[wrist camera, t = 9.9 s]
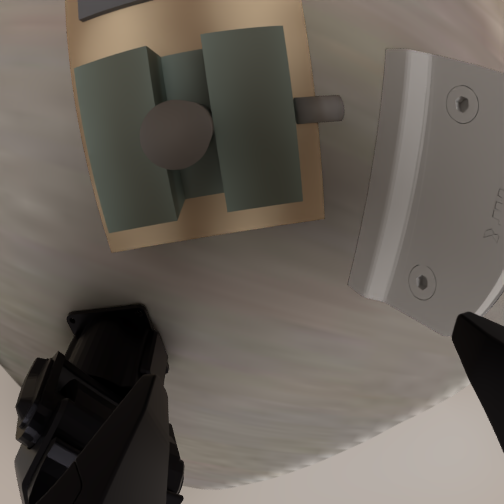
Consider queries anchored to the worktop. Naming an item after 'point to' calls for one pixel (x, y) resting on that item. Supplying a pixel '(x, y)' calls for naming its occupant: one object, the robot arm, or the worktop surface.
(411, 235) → the grey arched bracket
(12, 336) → the worktop surface
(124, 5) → the mat
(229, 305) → the worktop surface
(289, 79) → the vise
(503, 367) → the robot arm
